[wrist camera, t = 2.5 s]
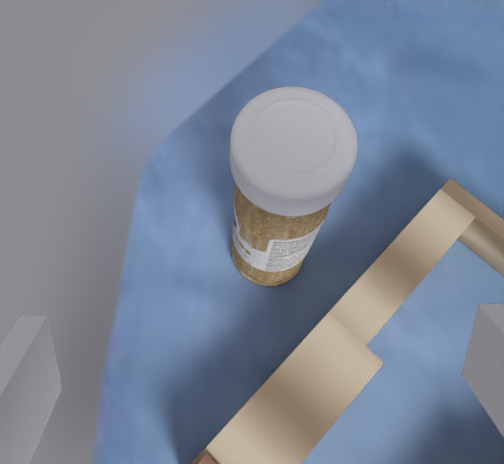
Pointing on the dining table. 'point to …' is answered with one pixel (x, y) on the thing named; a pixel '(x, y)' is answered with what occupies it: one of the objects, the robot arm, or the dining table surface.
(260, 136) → the sprinkles bottle
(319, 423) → the light wood rectangular frame
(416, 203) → the dining table surface
